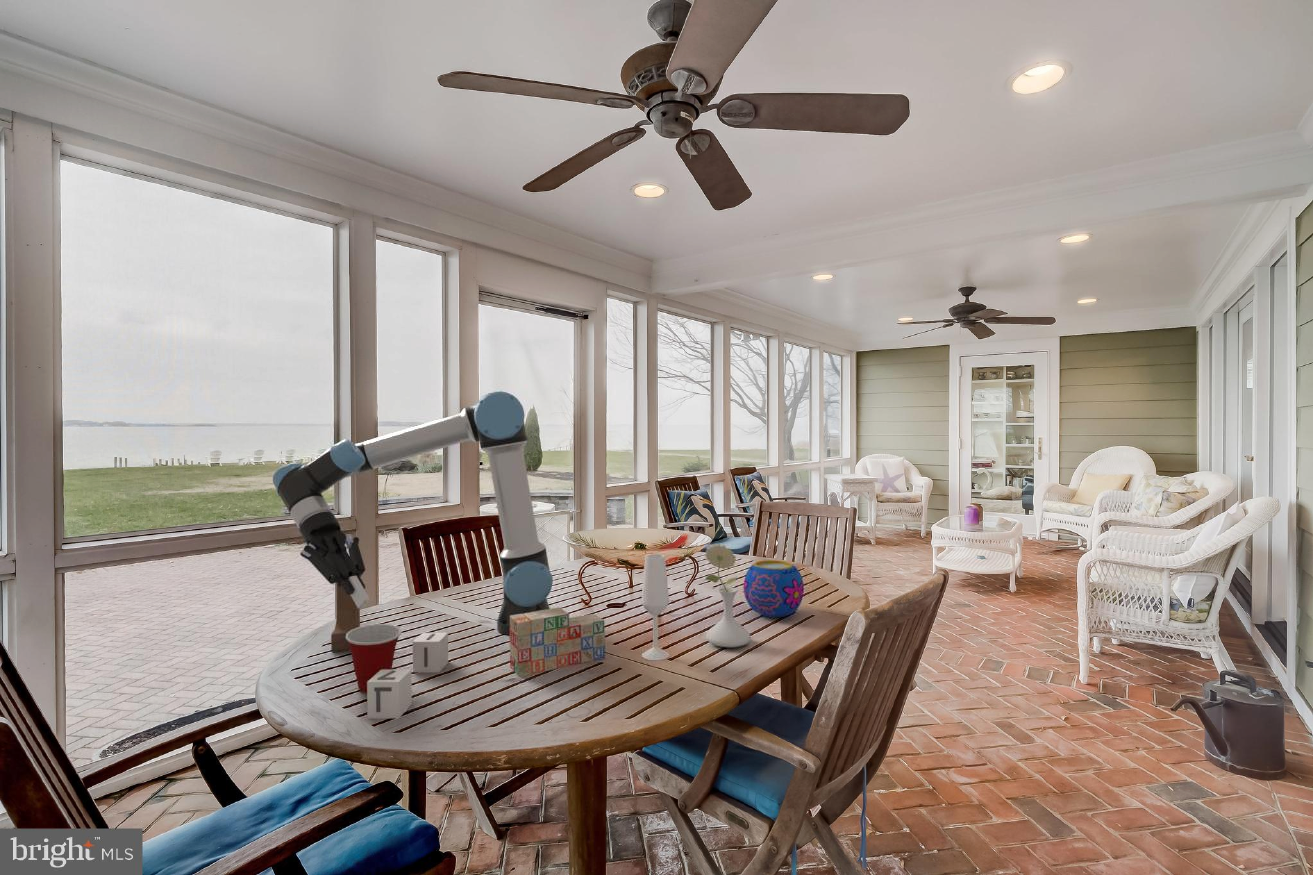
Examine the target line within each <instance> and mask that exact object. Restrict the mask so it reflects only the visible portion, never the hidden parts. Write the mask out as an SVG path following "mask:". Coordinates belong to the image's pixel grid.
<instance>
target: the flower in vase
mask: <svg viewBox="0 0 1313 875" xmlns="http://www.w3.org/2000/svg"><path fill="white" fill-rule="evenodd" d="M734 553H735V552H734V551H733V550H731V548H727V546H726V545H725V544H724V545H720V544H718V543H717V544H713V545H711V546H708V547H707V548H706V551H705V554H704V556H705V557H706V560H707V561H708V563H709V564H710V565H712V566H714V567H717V575H715V574H712V573H711V574H708V575H707V576H706V577H705V578H704V580H706V581H708V582H709V581H710V582H711V583H712V582H713V583H718V582H719V581H720V582H721V585H722V586H723V587H720V588H718V589H717V591H718V592H719V593H720V595H721V599H722V604H723V616H722V619H720V621H719V622H718V623H716V624H714V625H713V626H712V627H711V628H710V629H709V630H708V631H707V632H706V635H705V638H706V640H707V641H708V643H710V644H712V645H714V646H718V647H722V648H739V647H742V646H743V647H744V645H747V644H749V643H750V641H751V639H752V636H751V633H750V632H749V631H748V629H746V628H745V627H744V626H743V625H741V624H740V623H739V622H737V620H736V619H735V618H734V614H733V606H734V600H735V596H736V594H737V593H738V592H739V590H738V588H736V587H731V586H730V587H729V586H726V585H730V584H732V583H735V581H736V580H737V579H738V577H739V576H738V575H737V576H736V577H732V578H730V579H728V580H727V581H726V582H723V580H722V579H721V577H720V569H723V570H725V569H730V568H731V567H734V566H735V565H734V564H735V563H736V561H737V559H736V555H735V554H734Z"/></svg>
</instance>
